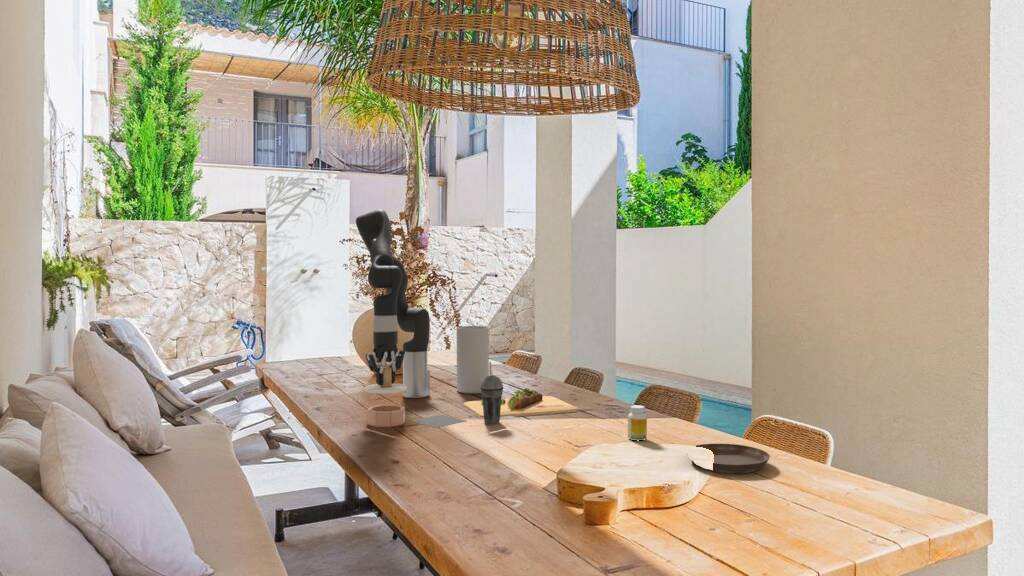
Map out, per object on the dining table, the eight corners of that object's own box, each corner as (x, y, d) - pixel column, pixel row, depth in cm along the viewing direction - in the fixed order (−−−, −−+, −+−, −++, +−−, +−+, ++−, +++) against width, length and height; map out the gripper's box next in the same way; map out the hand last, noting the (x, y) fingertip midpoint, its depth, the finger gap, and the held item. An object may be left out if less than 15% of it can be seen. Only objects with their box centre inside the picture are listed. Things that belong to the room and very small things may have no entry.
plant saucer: (668, 461, 192) (668, 448, 192) (726, 450, 202) (726, 438, 202) (727, 482, 174) (727, 468, 174) (787, 469, 184) (787, 456, 184)
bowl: (390, 418, 239) (390, 403, 239) (411, 424, 232) (411, 408, 231) (361, 424, 231) (361, 408, 231) (382, 430, 224) (382, 413, 223)
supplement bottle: (624, 438, 214) (624, 405, 214) (639, 436, 217) (639, 403, 216) (635, 442, 210) (635, 409, 209) (650, 440, 212) (650, 407, 212)
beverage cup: (507, 423, 233) (507, 360, 232) (497, 428, 226) (497, 363, 225) (486, 421, 236) (486, 359, 235) (476, 426, 229) (476, 362, 228)
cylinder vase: (488, 394, 281) (488, 329, 280) (455, 394, 281) (455, 329, 280) (489, 388, 294) (489, 325, 293) (458, 388, 294) (458, 325, 293)
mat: (441, 416, 243) (441, 414, 243) (467, 422, 234) (467, 420, 234) (409, 422, 234) (409, 420, 234) (436, 429, 225) (435, 427, 225)
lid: (390, 384, 240) (390, 363, 240) (415, 389, 231) (415, 367, 231) (356, 389, 231) (356, 367, 231) (380, 395, 222) (380, 372, 222)
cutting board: (481, 421, 239) (481, 398, 238) (461, 407, 261) (461, 386, 260) (579, 413, 251) (579, 391, 250) (552, 400, 273) (552, 380, 272)
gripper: (396, 327, 238) (396, 380, 239) (359, 330, 228) (359, 385, 229) (410, 328, 233) (411, 382, 233) (373, 332, 223) (373, 388, 223)
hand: (385, 383), depth 231 cm, fingers closed on lid, 3 cm apart
